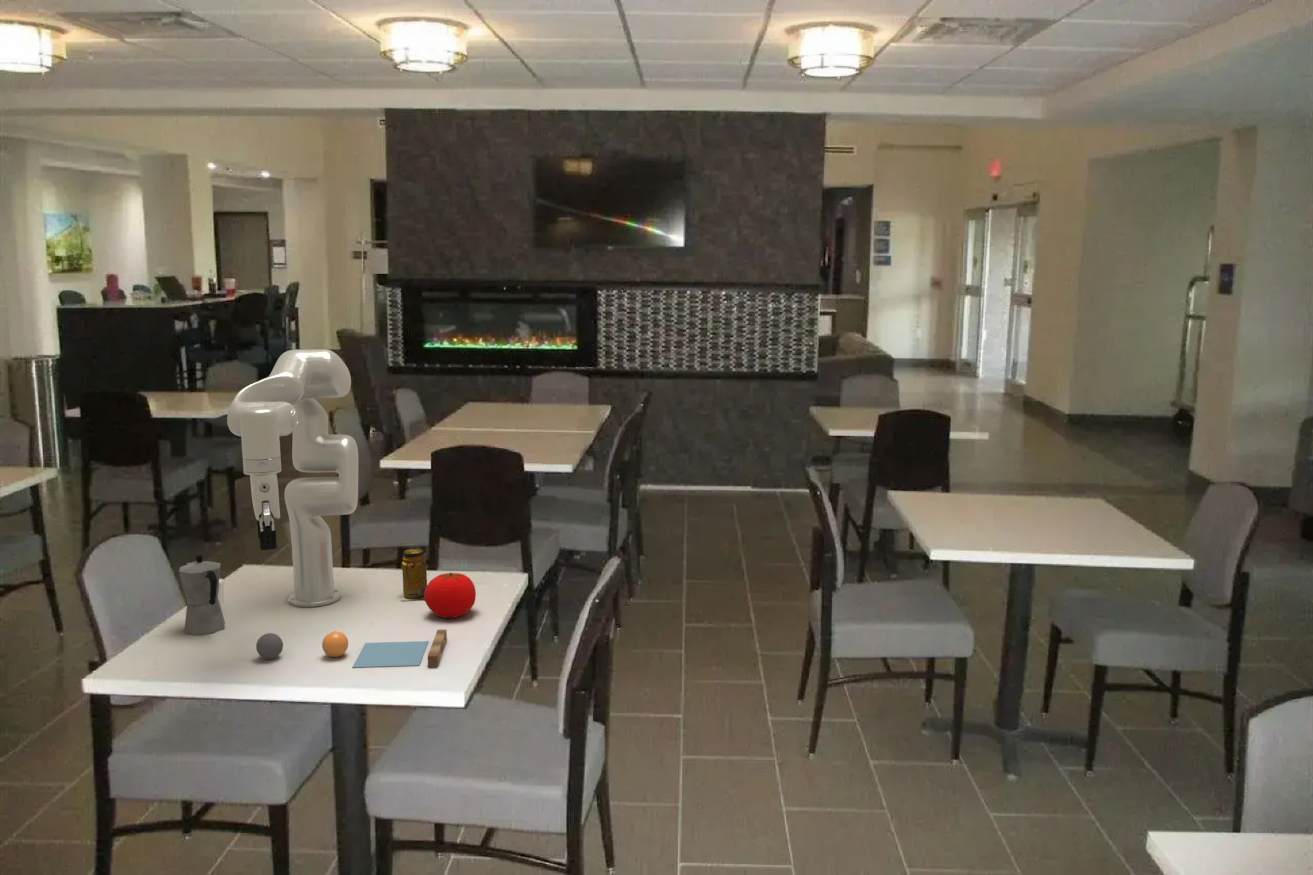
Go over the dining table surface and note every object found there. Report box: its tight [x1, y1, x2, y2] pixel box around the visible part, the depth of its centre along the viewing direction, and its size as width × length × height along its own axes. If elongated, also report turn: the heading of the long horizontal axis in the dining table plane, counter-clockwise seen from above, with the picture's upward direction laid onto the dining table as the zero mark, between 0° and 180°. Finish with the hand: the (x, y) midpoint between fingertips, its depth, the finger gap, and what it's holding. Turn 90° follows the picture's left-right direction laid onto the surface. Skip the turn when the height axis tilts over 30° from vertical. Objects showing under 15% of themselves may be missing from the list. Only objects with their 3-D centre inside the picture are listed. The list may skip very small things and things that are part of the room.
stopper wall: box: [427, 629, 448, 668], centre depth 228 cm, size 16×2×2 cm, turn 4°
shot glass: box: [218, 578, 225, 610], centre depth 257 cm, size 7×7×7 cm
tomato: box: [423, 572, 477, 618], centre depth 252 cm, size 11×12×10 cm
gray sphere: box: [255, 632, 284, 660], centre depth 225 cm, size 6×6×6 cm
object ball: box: [321, 630, 349, 658], centre depth 226 cm, size 6×6×6 cm
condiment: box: [400, 548, 428, 602], centre depth 266 cm, size 7×8×12 cm
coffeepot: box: [178, 554, 226, 636], centre depth 241 cm, size 15×9×18 cm, turn 43°
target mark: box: [352, 640, 429, 669], centre depth 227 cm, size 14×14×1 cm
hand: (267, 543), depth 222 cm, fingers open, 9 cm apart
